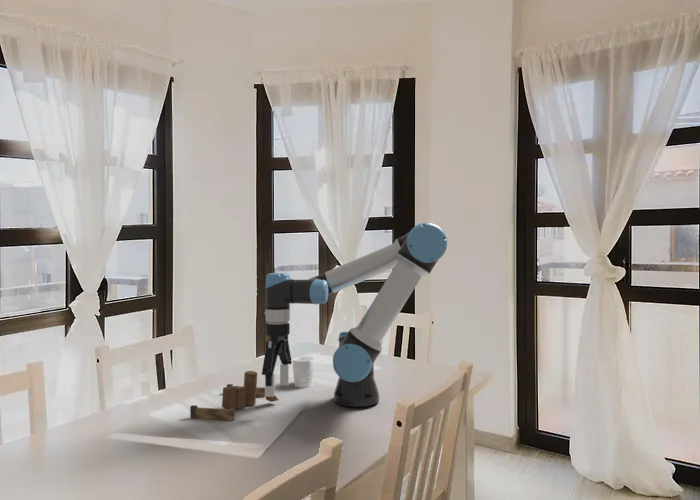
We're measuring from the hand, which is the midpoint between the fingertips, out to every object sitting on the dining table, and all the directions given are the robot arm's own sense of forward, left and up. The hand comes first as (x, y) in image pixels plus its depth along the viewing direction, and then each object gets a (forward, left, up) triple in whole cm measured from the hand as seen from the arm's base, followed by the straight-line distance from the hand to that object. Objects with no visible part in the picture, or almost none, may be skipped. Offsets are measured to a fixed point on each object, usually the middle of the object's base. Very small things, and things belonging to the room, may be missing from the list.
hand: (277, 390), depth 161 cm
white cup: (0, -28, -6) cm, 29 cm away
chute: (+15, 0, -6) cm, 16 cm away
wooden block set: (+10, 0, -6) cm, 12 cm away
